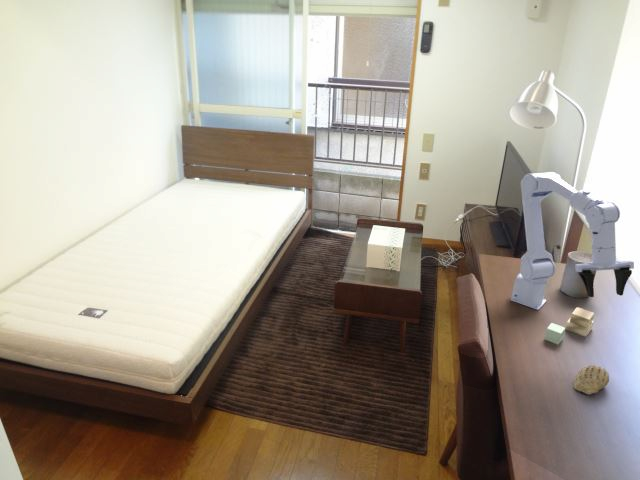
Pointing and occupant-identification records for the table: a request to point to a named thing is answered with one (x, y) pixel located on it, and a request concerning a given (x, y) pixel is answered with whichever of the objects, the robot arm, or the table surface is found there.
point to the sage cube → (554, 333)
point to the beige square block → (582, 317)
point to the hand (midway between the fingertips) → (605, 295)
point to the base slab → (578, 328)
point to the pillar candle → (575, 275)
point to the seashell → (591, 379)
